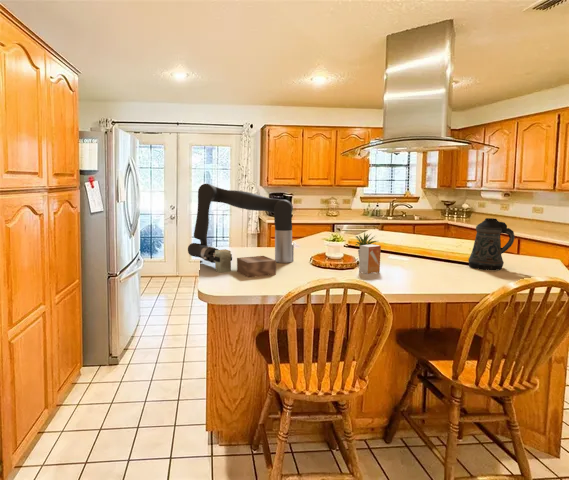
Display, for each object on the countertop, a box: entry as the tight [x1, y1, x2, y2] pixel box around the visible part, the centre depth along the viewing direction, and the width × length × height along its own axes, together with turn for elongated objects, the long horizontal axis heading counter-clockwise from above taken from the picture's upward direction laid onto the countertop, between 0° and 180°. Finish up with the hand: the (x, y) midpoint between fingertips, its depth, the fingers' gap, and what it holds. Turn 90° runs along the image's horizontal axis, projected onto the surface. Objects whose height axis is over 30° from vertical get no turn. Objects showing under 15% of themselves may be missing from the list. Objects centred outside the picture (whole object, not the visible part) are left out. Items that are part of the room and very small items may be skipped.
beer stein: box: [467, 217, 516, 271], centre depth 229 cm, size 16×19×25 cm
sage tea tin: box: [214, 248, 232, 273], centre depth 220 cm, size 6×6×10 cm
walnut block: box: [236, 255, 277, 278], centre depth 215 cm, size 14×14×7 cm
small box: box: [358, 243, 382, 275], centre depth 218 cm, size 8×6×13 cm
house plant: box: [354, 232, 378, 260], centre depth 242 cm, size 14×14×16 cm
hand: (225, 259), depth 217 cm, fingers closed on sage tea tin, 5 cm apart
